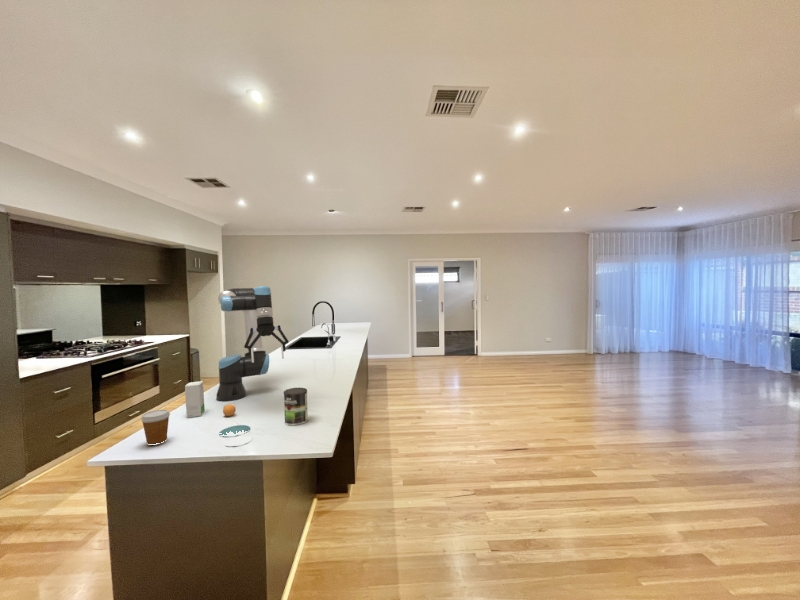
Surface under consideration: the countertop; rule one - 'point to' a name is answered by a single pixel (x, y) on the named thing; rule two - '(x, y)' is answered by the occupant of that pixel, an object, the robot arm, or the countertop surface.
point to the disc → (234, 429)
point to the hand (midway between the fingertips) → (268, 360)
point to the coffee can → (295, 406)
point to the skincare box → (194, 399)
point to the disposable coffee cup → (155, 426)
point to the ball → (229, 410)
